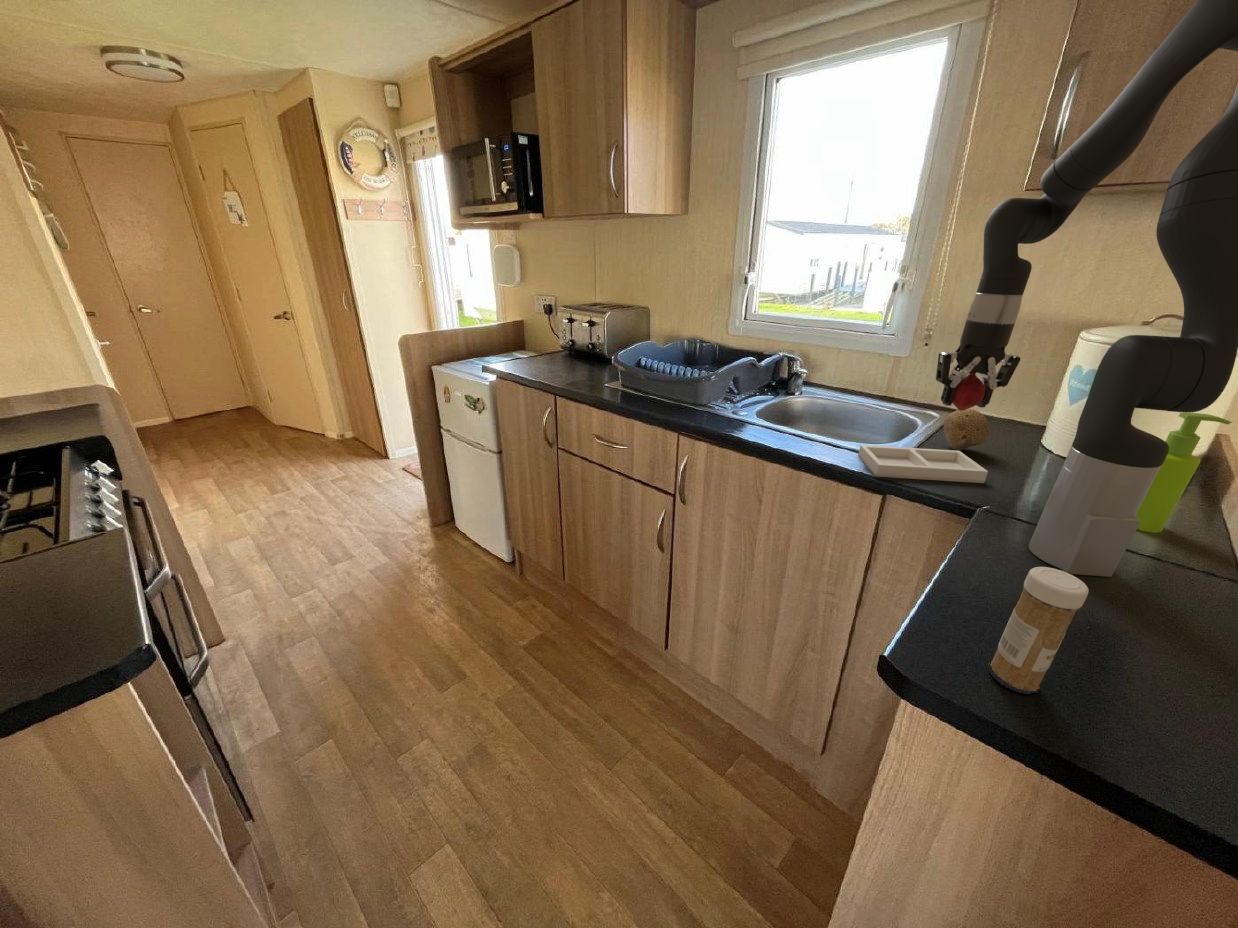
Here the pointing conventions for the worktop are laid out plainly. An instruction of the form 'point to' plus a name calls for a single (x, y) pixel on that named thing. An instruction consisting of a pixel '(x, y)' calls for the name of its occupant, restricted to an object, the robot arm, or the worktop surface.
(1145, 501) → the soap dispenser
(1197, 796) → the worktop surface
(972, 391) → the onion
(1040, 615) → the sprinkles bottle
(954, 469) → the well holder
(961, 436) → the natural sponge
